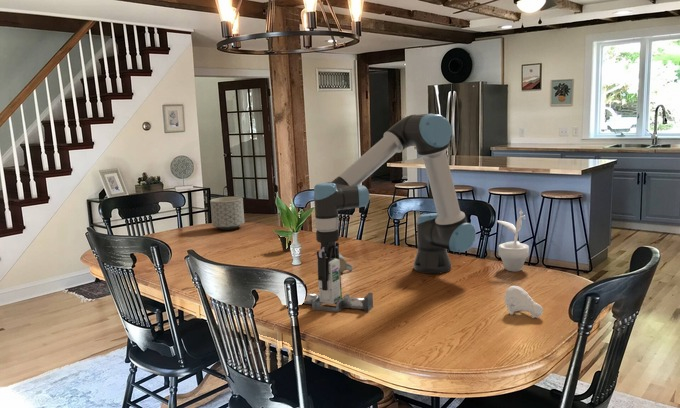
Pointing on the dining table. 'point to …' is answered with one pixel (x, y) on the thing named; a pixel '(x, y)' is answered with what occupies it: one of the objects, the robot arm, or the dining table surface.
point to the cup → (283, 242)
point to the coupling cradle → (342, 303)
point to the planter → (227, 212)
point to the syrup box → (332, 282)
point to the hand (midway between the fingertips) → (330, 295)
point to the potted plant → (513, 248)
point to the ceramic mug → (344, 264)
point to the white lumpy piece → (521, 302)
